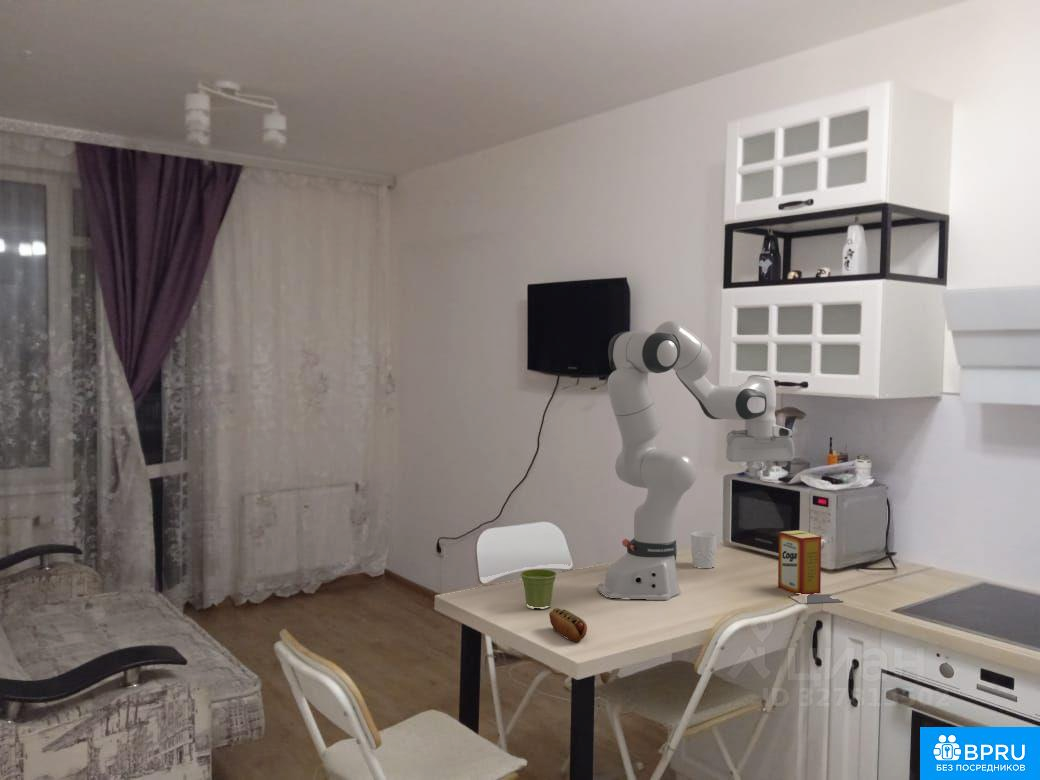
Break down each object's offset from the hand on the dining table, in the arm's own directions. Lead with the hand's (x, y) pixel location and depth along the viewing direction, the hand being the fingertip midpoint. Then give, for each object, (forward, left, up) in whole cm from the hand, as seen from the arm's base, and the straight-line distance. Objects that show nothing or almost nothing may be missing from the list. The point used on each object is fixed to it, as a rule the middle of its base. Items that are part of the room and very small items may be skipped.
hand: (759, 476), depth 247 cm
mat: (+3, -28, -29) cm, 41 cm away
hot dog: (-68, -47, -30) cm, 88 cm away
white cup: (-13, +11, -29) cm, 34 cm away
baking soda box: (+3, -19, -29) cm, 35 cm away
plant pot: (-71, -24, -29) cm, 80 cm away
